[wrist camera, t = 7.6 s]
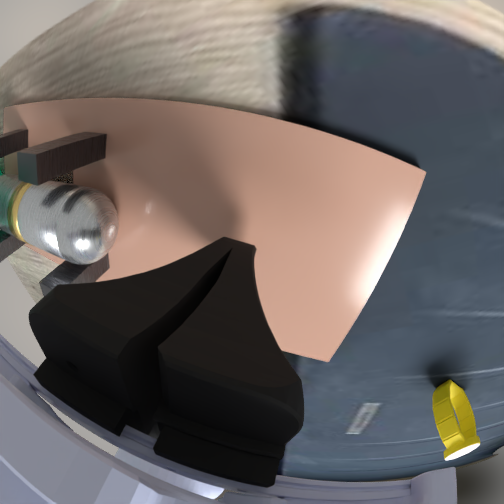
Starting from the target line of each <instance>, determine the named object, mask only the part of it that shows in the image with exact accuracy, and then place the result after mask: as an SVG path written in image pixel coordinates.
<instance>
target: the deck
mask: <svg viewBox="0 0 504 504" xmlns="http://www.w3.org/2000/svg"><path fill="white" fill-rule="evenodd" d="M17 129H28V148H30V147H33V146H36V145H39V144H42V143H45V142H48V141H52V140H55V139H58V138H62V137H66V136H69V135H73V134H77V133H81V132H94V133H105V134H107V139H106V158H104V159H102V160H99V161H96V162H93V163H91V164H88V165H85V166H83V167H80V168H78V169H75V170H73V184H75V185H81V186H86V187H91V188H94V189H97V190H99V191H101V192H103V193H104V194H105V195H107V197H108V198H109V199H110V200H111V201H112V203H113V204H114V206H115V209H116V211H117V214H118V221H119V230H118V235H117V239H116V241H115V243H114V245H113V247H112V248H111V250H110V251H109V252H108V255H109V265H110V268H109V269H108V270H107V271H106V272H105V273H104V274H103V275H102V276H101V277H100V278H99V279H98V280H97V281H95V282H99V281H107V280H112V279H118V278H123V277H127V276H131V275H135V274H139V273H143V272H146V271H150V270H153V269H156V268H159V267H162V266H164V265H167V264H169V263H172V262H174V261H176V260H179V259H181V258H183V257H185V256H187V255H190V254H192V253H194V252H196V251H198V250H199V249H201V248H203V247H205V246H207V245H209V244H211V243H212V242H214V241H216V240H218V239H220V238H222V237H228V238H231V239H235V240H238V241H241V242H245V243H248V244H252V245H255V247H256V249H257V250H256V254H255V258H254V268H255V278H256V284H257V289H258V294H259V298H260V302H261V305H262V308H263V311H264V314H265V317H266V320H267V322H268V325H269V327H270V329H271V331H272V333H273V335H274V337H275V339H276V341H277V343H278V345H279V347H280V349H281V350H283V351H286V352H290V353H294V354H298V355H302V356H306V357H310V358H314V359H318V360H322V361H326V362H329V360H330V359H331V357H332V356H333V354H334V353H335V351H336V350H337V348H338V347H339V345H340V344H341V342H342V341H343V339H344V338H345V336H346V335H347V333H348V331H349V330H350V328H351V327H352V325H353V323H354V322H355V320H356V318H357V317H358V315H359V313H360V312H361V310H362V308H363V307H364V305H365V303H366V301H367V300H368V298H369V296H370V294H371V293H372V291H373V289H374V287H375V285H376V284H377V282H378V280H379V278H380V276H381V274H382V272H383V270H384V268H385V266H386V264H387V263H388V261H389V259H390V257H391V254H392V252H393V250H394V248H395V246H396V244H397V242H398V240H399V238H400V236H401V233H402V231H403V229H404V227H405V224H406V222H407V220H408V218H409V215H410V213H411V210H412V208H413V206H414V203H415V201H416V198H417V196H418V193H419V191H420V188H421V185H422V183H423V180H424V177H425V174H426V171H424V170H422V169H421V168H418V167H416V166H414V165H412V164H410V163H407V162H405V161H403V160H401V159H398V158H396V157H394V156H391V155H389V154H386V153H384V152H381V151H379V150H376V149H374V148H371V147H369V146H366V145H363V144H360V143H358V142H355V141H352V140H349V139H346V138H343V137H340V136H337V135H334V134H331V133H328V132H325V131H321V130H318V129H315V128H311V127H308V126H304V125H301V124H297V123H293V122H289V121H285V120H281V119H277V118H273V117H269V116H264V115H260V114H255V113H250V112H245V111H240V110H235V109H229V108H223V107H217V106H210V105H204V104H196V103H188V102H179V101H169V100H156V99H140V98H77V99H61V100H50V101H41V102H32V103H25V104H19V105H13V106H8V107H4V119H3V134H4V133H7V132H11V131H14V130H17ZM25 149H27V148H25ZM23 150H24V149H23ZM20 151H21V150H20ZM17 152H18V151H17ZM17 152H14V153H12V154H9V155H7V156H4V166H5V174H15V175H18V163H17ZM24 245H25V246H27V247H28V248H30V249H32V250H34V251H35V252H37V253H39V254H41V255H43V256H45V257H46V258H48V259H50V260H52V261H54V262H56V263H58V264H62V263H63V262H64V261H65V260H64V259H62V258H59V257H57V256H55V255H53V254H50V253H48V252H46V251H44V250H42V249H39V248H37V247H35V246H32V245H29V244H27V243H26V244H24Z"/></svg>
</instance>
